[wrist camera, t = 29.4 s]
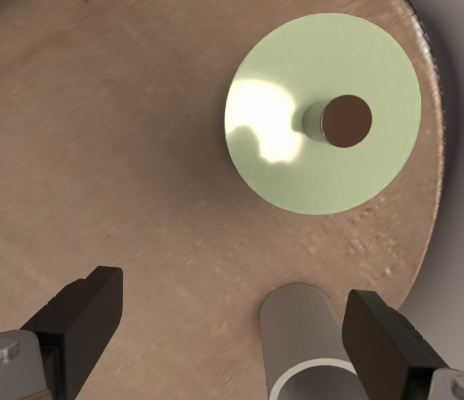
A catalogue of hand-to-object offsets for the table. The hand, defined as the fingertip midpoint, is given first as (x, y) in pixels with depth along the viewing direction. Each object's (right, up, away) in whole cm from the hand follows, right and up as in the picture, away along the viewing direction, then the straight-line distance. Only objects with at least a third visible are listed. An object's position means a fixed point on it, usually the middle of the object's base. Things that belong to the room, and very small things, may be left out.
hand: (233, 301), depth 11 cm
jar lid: (+6, +9, +11) cm, 16 cm away
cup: (+8, -11, +27) cm, 30 cm away
